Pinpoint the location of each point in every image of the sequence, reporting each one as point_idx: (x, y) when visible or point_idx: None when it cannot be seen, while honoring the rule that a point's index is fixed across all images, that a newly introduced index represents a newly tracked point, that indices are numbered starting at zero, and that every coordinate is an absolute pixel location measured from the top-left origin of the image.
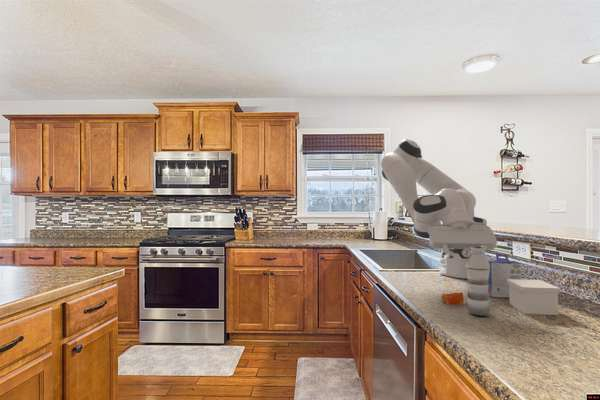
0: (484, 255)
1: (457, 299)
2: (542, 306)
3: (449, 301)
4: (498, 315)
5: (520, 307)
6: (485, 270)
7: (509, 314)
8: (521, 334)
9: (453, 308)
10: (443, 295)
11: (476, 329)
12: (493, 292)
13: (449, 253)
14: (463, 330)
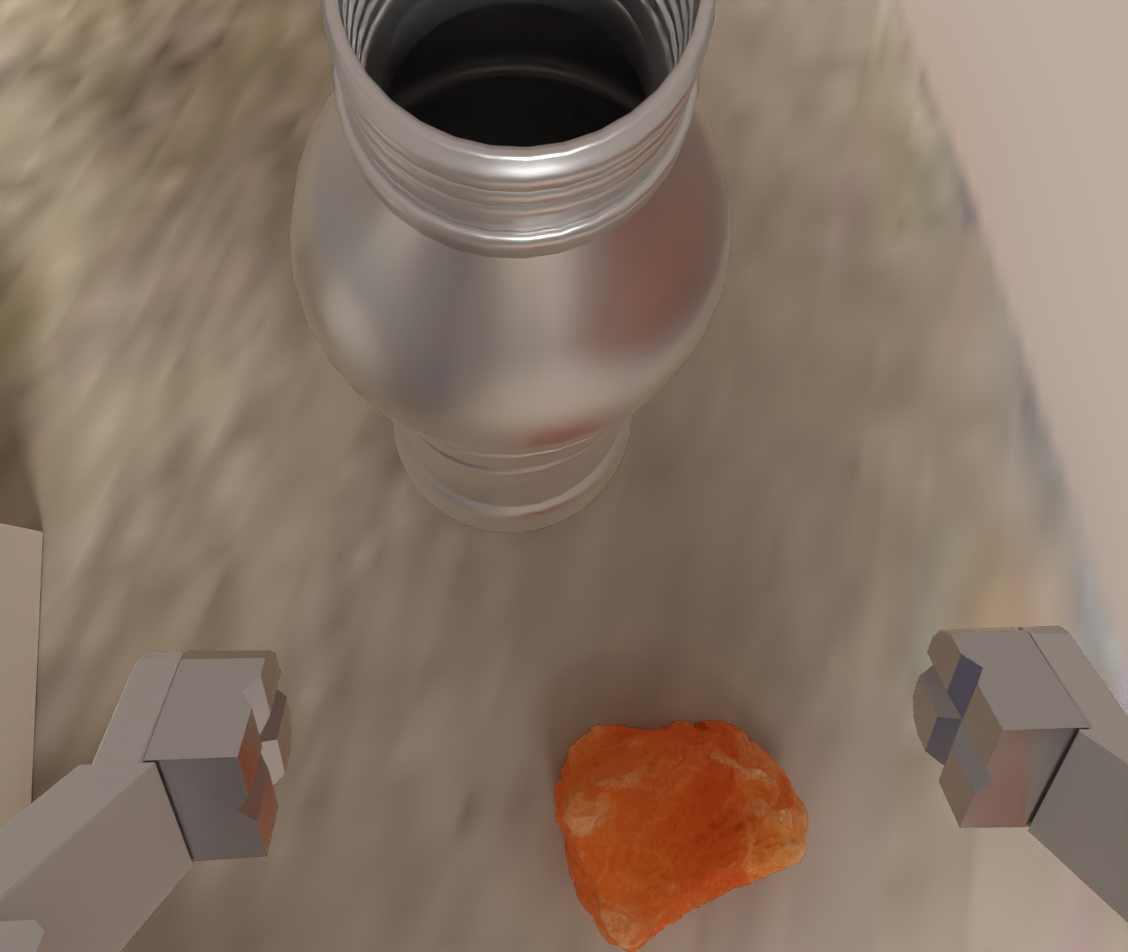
0: (162, 667)
1: (641, 735)
2: None
3: (723, 734)
4: (329, 436)
5: (18, 606)
6: (441, 87)
7: (206, 485)
8: None
9: (708, 578)
10: (790, 811)
11: None
12: None
13: (1065, 664)
14: (752, 34)
